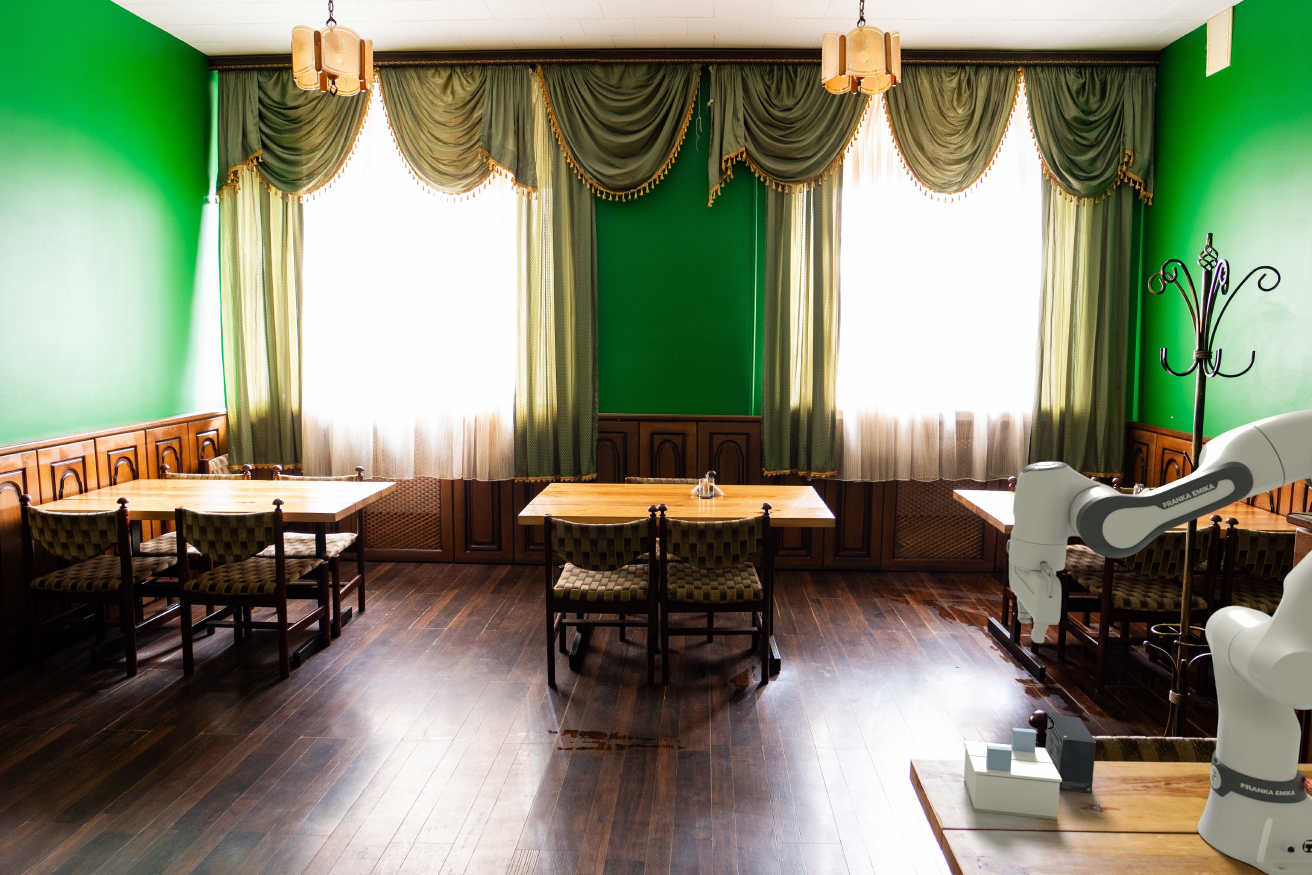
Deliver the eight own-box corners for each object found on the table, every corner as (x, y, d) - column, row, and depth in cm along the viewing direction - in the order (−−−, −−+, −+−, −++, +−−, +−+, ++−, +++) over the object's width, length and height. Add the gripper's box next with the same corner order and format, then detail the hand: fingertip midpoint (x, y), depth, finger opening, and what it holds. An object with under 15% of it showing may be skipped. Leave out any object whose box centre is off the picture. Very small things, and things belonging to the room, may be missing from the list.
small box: (1094, 794, 153) (1098, 741, 152) (1057, 790, 155) (1060, 738, 153) (1077, 765, 164) (1081, 716, 162) (1042, 762, 165) (1045, 713, 164)
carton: (1041, 786, 156) (1043, 752, 155) (1057, 819, 145) (1059, 783, 144) (964, 778, 159) (965, 744, 158) (974, 810, 148) (976, 774, 147)
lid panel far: (1044, 750, 155) (1046, 728, 155) (1052, 765, 150) (1054, 742, 149) (964, 742, 158) (965, 721, 157) (969, 757, 153) (970, 734, 152)
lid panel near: (1053, 766, 149) (1054, 743, 149) (1061, 782, 144) (1063, 758, 144) (969, 758, 152) (970, 735, 152) (974, 773, 147) (975, 749, 146)
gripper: (1075, 573, 130) (1067, 656, 132) (1041, 541, 150) (1034, 613, 152) (1032, 570, 131) (1025, 652, 133) (1004, 539, 151) (999, 610, 153)
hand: (1030, 631), depth 143 cm, fingers open, 8 cm apart
